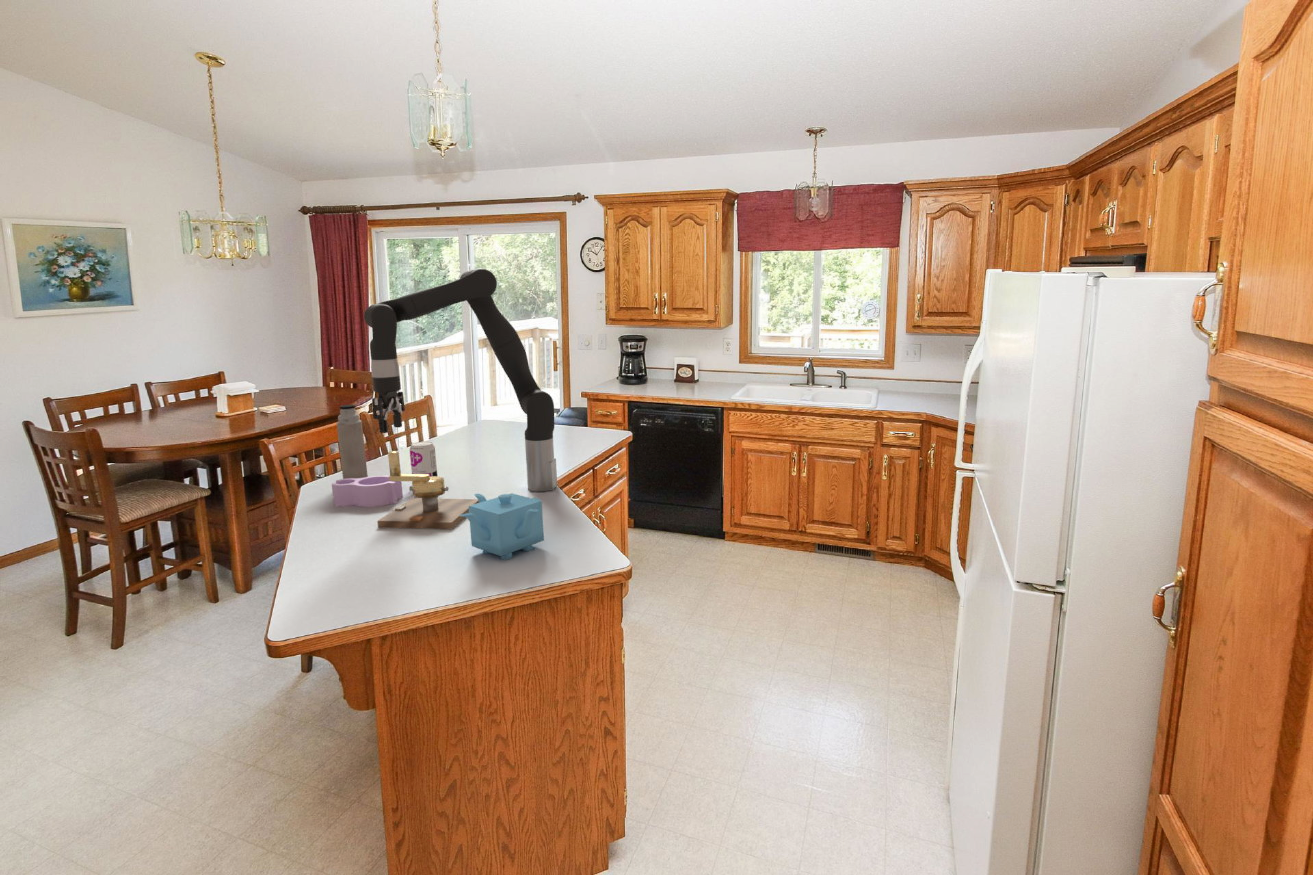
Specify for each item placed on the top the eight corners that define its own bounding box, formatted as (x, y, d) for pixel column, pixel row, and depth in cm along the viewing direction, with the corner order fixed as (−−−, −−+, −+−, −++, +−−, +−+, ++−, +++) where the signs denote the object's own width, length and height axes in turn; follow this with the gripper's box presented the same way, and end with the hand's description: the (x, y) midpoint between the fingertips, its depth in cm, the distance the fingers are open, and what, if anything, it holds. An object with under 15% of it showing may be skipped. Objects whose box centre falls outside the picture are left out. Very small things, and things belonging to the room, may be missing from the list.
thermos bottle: (351, 481, 253) (342, 403, 247) (372, 481, 253) (364, 403, 247) (339, 487, 246) (329, 407, 240) (361, 487, 245) (352, 407, 239)
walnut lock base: (480, 505, 222) (478, 484, 221) (451, 529, 201) (449, 506, 199) (413, 504, 225) (411, 483, 223) (378, 527, 203) (375, 505, 202)
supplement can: (422, 491, 239) (418, 447, 236) (408, 487, 244) (404, 444, 241) (443, 485, 246) (439, 443, 242) (428, 481, 250) (424, 440, 247)
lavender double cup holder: (329, 509, 222) (326, 487, 221) (343, 497, 234) (340, 477, 233) (394, 506, 224) (392, 485, 222) (405, 494, 236) (403, 474, 234)
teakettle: (545, 536, 194) (542, 483, 191) (542, 561, 176) (539, 504, 173) (474, 540, 192) (470, 487, 189) (464, 566, 174) (459, 508, 171)
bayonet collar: (454, 489, 215) (450, 449, 212) (441, 498, 206) (438, 456, 204) (399, 488, 217) (395, 448, 214) (385, 497, 208) (380, 455, 206)
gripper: (385, 377, 198) (391, 435, 201) (409, 371, 212) (414, 425, 215) (360, 378, 199) (366, 434, 202) (385, 371, 213) (390, 425, 216)
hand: (391, 429), depth 209 cm, fingers open, 8 cm apart
